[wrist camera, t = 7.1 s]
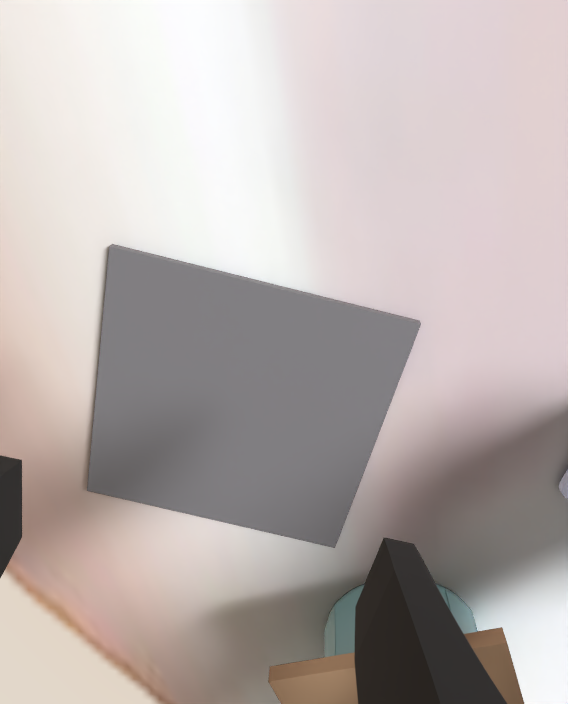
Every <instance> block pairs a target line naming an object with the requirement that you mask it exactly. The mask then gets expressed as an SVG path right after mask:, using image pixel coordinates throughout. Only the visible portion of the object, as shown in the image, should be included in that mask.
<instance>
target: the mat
mask: <svg viewBox="0 0 568 704" xmlns="http://www.w3.org/2000/svg"><path fill="white" fill-rule="evenodd" d="M420 325H421V323H420V321H418V320H414V319H410V318H406V317H402V316H398V315H394V314H390V313H386V312H382V311H378V310H374V309H370V308H366V307H362V306H358V305H354V304H350V303H346V302H342V301H338V300H334V299H330V298H326V297H322V296H318V295H314V294H310V293H306V292H302V291H298V290H294V289H290V288H286V287H282V286H278V285H274V284H270V283H266V282H262V281H258V280H254V279H250V278H246V277H242V276H238V275H234V274H230V273H226V272H222V271H218V270H214V269H210V268H206V267H202V266H198V265H194V264H190V263H186V262H182V261H178V260H174V259H170V258H166V257H162V256H158V255H154V254H150V253H146V252H142V251H138V250H134V249H130V248H126V247H122V246H118V245H114V244H112V245H111V246H109V256H108V267H107V278H106V289H105V300H104V311H103V322H102V333H101V343H100V354H99V365H98V376H97V387H96V398H95V409H94V420H93V431H92V442H91V453H90V464H89V475H88V486H87V491H91V492H95V493H99V494H104V495H108V496H112V497H117V498H121V499H125V500H130V501H134V502H138V503H143V504H147V505H151V506H156V507H160V508H164V509H169V510H173V511H177V512H182V513H186V514H190V515H195V516H199V517H203V518H208V519H212V520H216V521H221V522H225V523H229V524H234V525H238V526H242V527H247V528H251V529H255V530H260V531H264V532H268V533H273V534H277V535H281V536H286V537H290V538H294V539H299V540H303V541H307V542H312V543H316V544H320V545H325V546H329V547H333V548H335V546H336V543H337V541H338V538H339V536H340V533H341V530H342V528H343V525H344V523H345V520H346V517H347V515H348V512H349V510H350V507H351V504H352V502H353V499H354V497H355V494H356V492H357V489H358V486H359V484H360V481H361V479H362V476H363V473H364V471H365V468H366V466H367V463H368V460H369V458H370V455H371V453H372V450H373V447H374V445H375V442H376V440H377V437H378V434H379V432H380V429H381V427H382V424H383V421H384V419H385V416H386V414H387V411H388V408H389V406H390V403H391V401H392V398H393V395H394V393H395V390H396V388H397V385H398V382H399V380H400V377H401V375H402V372H403V369H404V367H405V364H406V362H407V359H408V356H409V354H410V351H411V349H412V346H413V343H414V341H415V338H416V336H417V333H418V331H419V328H420Z"/></svg>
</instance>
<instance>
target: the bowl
mask: <svg viewBox="0 0 568 704" xmlns="http://www.w3.org/2000/svg"><path fill="white" fill-rule="evenodd" d="M364 585H365V584H364ZM364 585H361V586H359V587H357V588H355V589H353V590H351V591H349V592H348V593H347V594H345V595H344V596H343V597H342V598H341V599H339V600H338V601H337V603H336V604H335V605H334V607H333V608H332V610H331V612H330V614H329V617H328V620H327V625H326V627H325V629H324V657H330V656H336V655H342V654H348V653H354V652H355V606H356V604H357V602H358V599H359V597H360V594H361V592H362V589H363V587H364ZM436 585H437V584H436ZM437 587H438V589H439V591H440V593H441V595H442V596H443V598H444V600H445V602H446V604H447V605H448V607H449V609H450V611H451V613H452V614H453V616H454V618H455V620H456V621H457V623H458V625H459V627H460V628H461V630H462V632H463V633H464V634H466V633H472V632H478V631H477V628H476V624H475V620H474V617H473V613H472V611H471V609H470V608H468V606H467V605H466V604H465V603H464V601H463V600H462V599H460V598H459V597H458V596H457V595H456V594H454V593H453V592H451V591H450V590H448V589H446V588H444V587H442V586H440V585H437Z"/></svg>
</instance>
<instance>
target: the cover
mask: <svg viewBox="0 0 568 704" xmlns="http://www.w3.org/2000/svg"><path fill="white" fill-rule="evenodd" d="M464 635H465V637H466V638H467V640H468V642H469V643H470V645H471V647H472V648H473V650H474V652H475V653H476V655H477V657H478V659H479V660H480V662H481V663H482V665H483V667H484V668H485V670H486V671H487V673H488V675H489V676H490V678H491V679H492V681H493V682H494V684H495V686H496V687H497V689H498V690H499V692H500V693H501V695H502V696H503V698H504V699H505V701H506V702H507V704H524V701H523V698H522V694H521V691H520V687H519V684H518V680H517V676H516V673H515V669H514V666H513V662H512V659H511V655H510V652H509V648H508V645H507V641H506V638H505V635H504V632H503V629H502V628H496V629H490V630H484V631H478V632H472V633H466V634H464ZM354 655H355V652H354V653H348V654H342V655H336V656H330V657H324V658H318V659H312V660H306V661H300V662H294V663H288V664H282V665H276V666H271V667H270V671H269V681H268V682H269V683H270V685H271V687H272V689H273V690H274V692H275V694H276V696H277V697H278V699H279V701H280V702H281V704H358V696H357V685H356V673H355V661H354Z"/></svg>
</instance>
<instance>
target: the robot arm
mask: <svg viewBox="0 0 568 704" xmlns="http://www.w3.org/2000/svg"><path fill="white" fill-rule="evenodd" d="M559 490H560V492H561V493H562V495H563V496H564V497H565V498H567V499H568V469H567V471H566V473H565V474H564V476H563V478H562V479H561V481H560V483H559ZM21 538H22V460H19V459H14V458H9V457H5V456H0V578H1V576H2V574H3V572H4V570H5V569H6V567H7V565H8V563H9V561H10V559H11V557H12V555H13V553H14V551H15V549H16V547H17V546H18V544H19V542H20V540H21ZM354 661H355V673H356V685H357V696H358V704H507V702H506V701H505V699H504V698H503V696H502V695H501V693H500V692H499V690H498V689H497V687H496V686H495V684H494V682H493V681H492V679H491V678H490V676H489V675H488V673H487V671H486V670H485V668H484V667H483V665H482V663H481V662H480V660H479V659H478V657H477V655H476V653H475V652H474V650H473V648H472V647H471V645H470V643H469V642H468V640H467V638H466V637H465V635H464V633H463V632H462V630H461V628H460V627H459V625H458V623H457V621H456V620H455V618H454V616H453V614H452V613H451V611H450V609H449V607H448V605H447V604H446V602H445V600H444V598H443V596H442V595H441V593H440V591H439V589H438V587H437V585H436V584H435V582H434V580H433V578H432V576H431V574H430V572H429V571H428V569H427V567H426V565H425V563H424V561H423V559H422V558H421V556H420V554H419V552H418V550H417V549H416V547H415V545H414V544H412V543H407V542H402V541H398V540H393V539H388V538H383V541H382V543H381V546H380V548H379V551H378V553H377V555H376V558H375V560H374V563H373V565H372V568H371V570H370V572H369V575H368V577H367V580H366V582H365V585H364V587H363V589H362V592H361V594H360V597H359V599H358V602H357V604H356V606H355V655H354Z"/></svg>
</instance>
